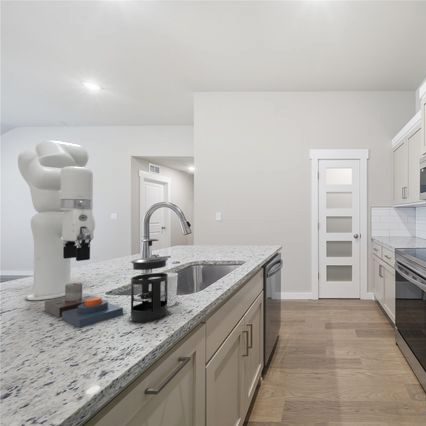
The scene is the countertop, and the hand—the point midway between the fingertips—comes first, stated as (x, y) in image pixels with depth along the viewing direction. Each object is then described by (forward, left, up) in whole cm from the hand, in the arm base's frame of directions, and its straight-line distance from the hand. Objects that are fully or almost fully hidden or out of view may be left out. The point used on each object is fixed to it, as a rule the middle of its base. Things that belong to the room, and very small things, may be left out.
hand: (76, 259), depth 81 cm
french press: (+28, +8, -16) cm, 33 cm away
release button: (+13, 0, -12) cm, 18 cm away
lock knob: (-1, 0, -13) cm, 13 cm away
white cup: (+21, +16, -16) cm, 31 cm away
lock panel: (-1, 0, -16) cm, 16 cm away
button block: (+13, 0, -16) cm, 21 cm away
